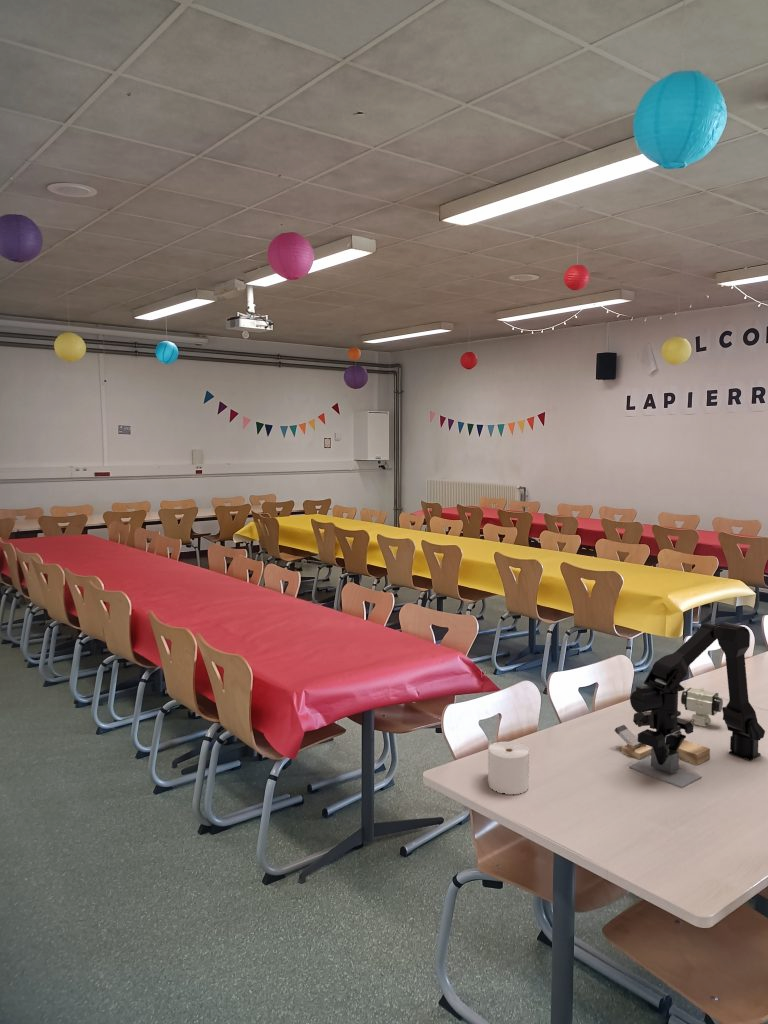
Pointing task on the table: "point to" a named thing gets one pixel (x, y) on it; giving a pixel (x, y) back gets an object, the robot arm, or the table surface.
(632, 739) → the lever
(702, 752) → the body
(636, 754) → the lever mount
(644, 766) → the felt pad
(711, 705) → the pneumatic valve
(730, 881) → the table surface
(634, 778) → the table surface
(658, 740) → the robot arm
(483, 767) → the table surface
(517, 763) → the toilet tissue
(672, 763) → the grey knobbed drawer
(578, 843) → the table surface
